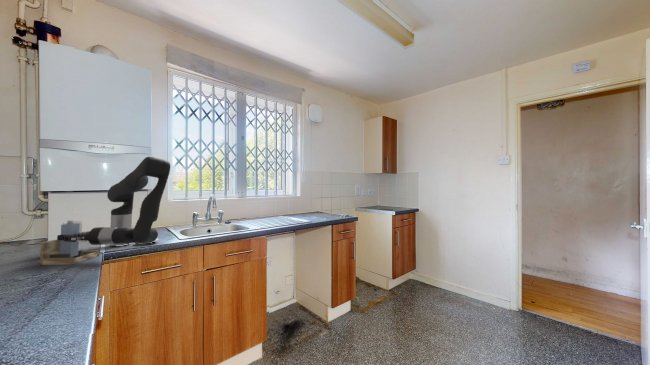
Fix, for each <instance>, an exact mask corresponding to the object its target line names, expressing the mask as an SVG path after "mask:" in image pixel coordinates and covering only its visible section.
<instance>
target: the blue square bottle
mask: <svg viewBox="0 0 650 365" xmlns="http://www.w3.org/2000/svg"><path fill="white" fill-rule="evenodd" d="M74 221H75V220H74V219H73V220H71V219H70V220H67V221H66V222H67V224H63V223H62V224H61V225H60V235H68V234H69V235H71V234H74V233H79V223H74ZM78 235H79V234H78ZM78 249H79V250H80V245H79V241H77V242H65V241H64V240H61V243H60V254H70V257H73V256H77V255H78Z"/></svg>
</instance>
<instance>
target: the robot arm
mask: <svg viewBox="0 0 650 365" xmlns="http://www.w3.org/2000/svg"><path fill="white" fill-rule="evenodd" d="M170 172H171V163H170V161H169V160H167V159H162V158H159V157H154V156H146V157H145V158H143V160H141V162H140V163H139V164H138V165H137V167H135V169H134V170H132V171H131V172H130V173H128V175H126V176H125V177H124V178H122V179H121V180H120V181H119V182H118V183H116V184H113V185H112V186H110V188H109V189H108V191H107V197H106V198H107V199H108V200H109V201H110V202H112V203H123V204H122V205H121V206H119V207H115V208H112V209H111V210H110V227H109V226H107V227H106V226H105V227H102V226H101V227H98V226H97V227H93V228H91V229H90V230H89V231H88V230H87V231H82V232H81V233H80V232H79V233H74V234H71V235H69V234H68V235H61V234H59V235H57V236H56V240H64V241H65V242H77V241H80V242H81V243H82V242H83V243H85V242H88V243H89V244H90V245H93V246H99V245H100V246H101V245H102V246H104V245H105V246H107V245H108V246H110V245H112V246H116V245H124V244H129V243H132V244H133V243H134V244H136V243H151V242H153V241H155V240H156V239H157V238H158V237H159V233H158V230H156V228H154V227H152V226H153V223H155V222H157V220H158V218H159V212H160V208H161V207H160V205H161V201H162V198H163V195H164V192H165V189H166V185H167V182H168V179H169V175H170V174H171V173H170ZM149 177H151V178H156V179H157V182H156V185H155V187H153V189H152V190H151V191H150V192H149V193H148V194H147V195H146V196H145V197H144V198H143V201H142V202H141V205H140V208H141V210H140V209H139V211H140V212H139V216H138V219H137V221H136V223H135V225H134V227H132V224H133V222H132V221H133V220H132V219H133V209H134V200H135V199H134V196H135V193H137V192H139V191H141V190H142V189H144V188H145V187H146V186H147V185H148V183H149ZM78 234H79V235H78ZM151 244H152V243H151Z"/></svg>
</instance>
